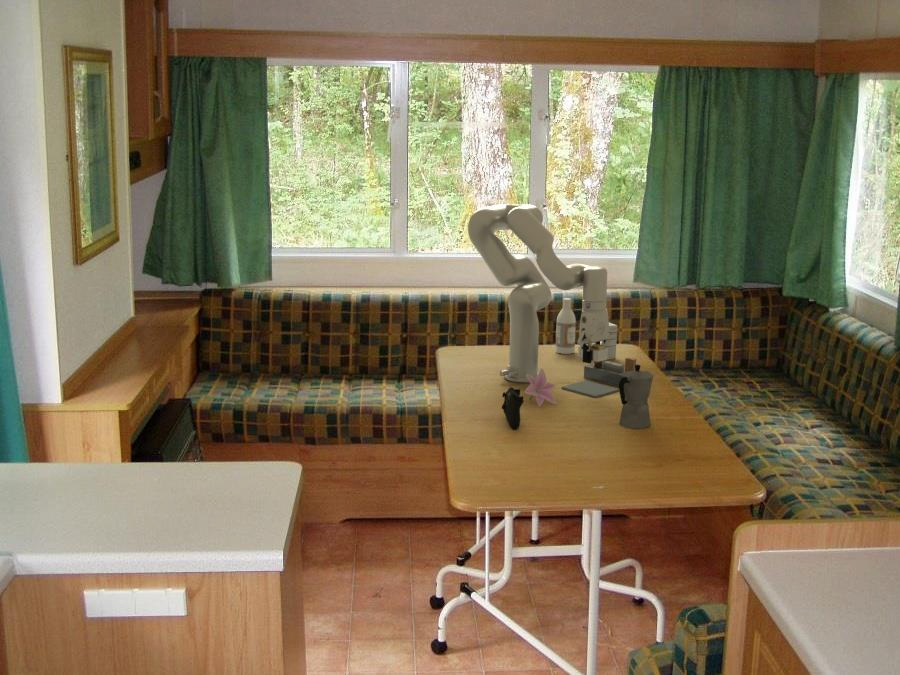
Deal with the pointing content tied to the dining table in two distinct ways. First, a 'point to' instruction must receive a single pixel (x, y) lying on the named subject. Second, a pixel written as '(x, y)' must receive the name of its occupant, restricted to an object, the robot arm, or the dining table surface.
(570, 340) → the bath foam
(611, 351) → the supplement box
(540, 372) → the lily
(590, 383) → the mat
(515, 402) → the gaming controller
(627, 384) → the coffeepot
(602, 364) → the plane body
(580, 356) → the lever cap
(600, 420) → the dining table surface
